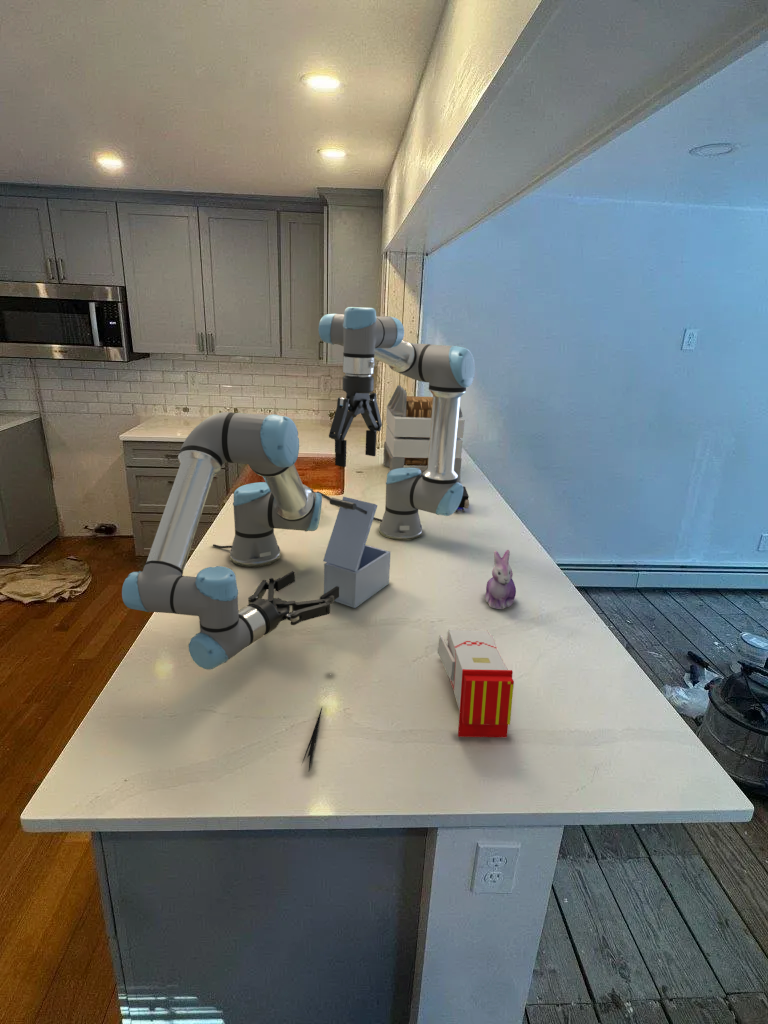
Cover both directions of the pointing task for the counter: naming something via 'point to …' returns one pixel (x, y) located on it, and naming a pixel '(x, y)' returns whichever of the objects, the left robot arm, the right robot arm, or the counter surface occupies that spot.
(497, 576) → the figurine
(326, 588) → the chest
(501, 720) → the toy
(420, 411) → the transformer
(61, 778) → the counter surface
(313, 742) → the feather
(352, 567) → the lid
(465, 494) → the figurine character
